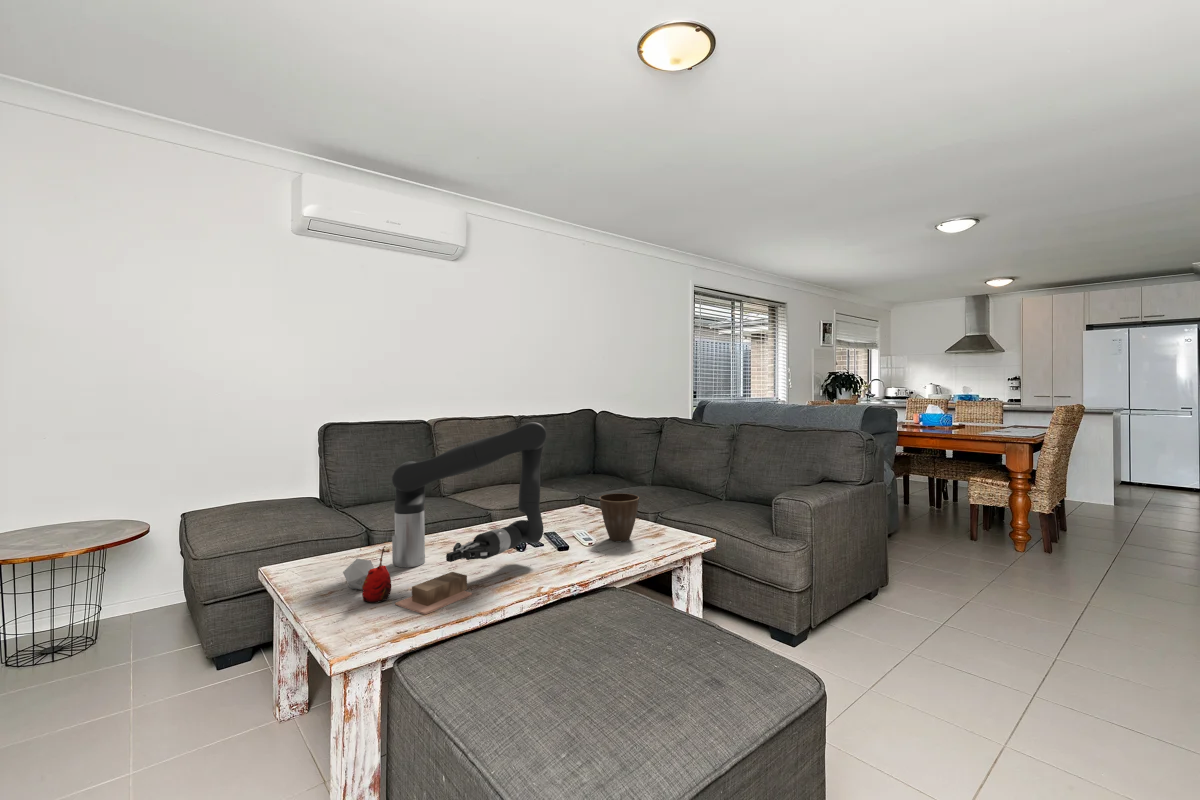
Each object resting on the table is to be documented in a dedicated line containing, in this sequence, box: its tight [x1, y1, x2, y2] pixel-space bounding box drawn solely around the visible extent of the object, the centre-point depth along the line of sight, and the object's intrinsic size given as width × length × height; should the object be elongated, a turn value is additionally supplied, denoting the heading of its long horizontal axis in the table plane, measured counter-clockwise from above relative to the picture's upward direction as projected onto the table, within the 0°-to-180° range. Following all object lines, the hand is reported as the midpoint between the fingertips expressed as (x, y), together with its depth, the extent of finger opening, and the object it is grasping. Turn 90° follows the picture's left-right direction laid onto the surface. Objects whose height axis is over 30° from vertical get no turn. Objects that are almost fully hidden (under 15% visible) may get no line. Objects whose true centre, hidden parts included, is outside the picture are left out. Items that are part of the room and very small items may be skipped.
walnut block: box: [411, 571, 468, 606], centre depth 151 cm, size 4×6×14 cm
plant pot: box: [599, 492, 640, 542], centre depth 208 cm, size 15×15×16 cm
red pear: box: [361, 545, 392, 604], centre depth 150 cm, size 8×7×15 cm
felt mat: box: [394, 590, 473, 616], centre depth 150 cm, size 16×12×1 cm
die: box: [342, 558, 375, 591], centre depth 159 cm, size 8×9×10 cm
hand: (448, 558), depth 154 cm, fingers closed
